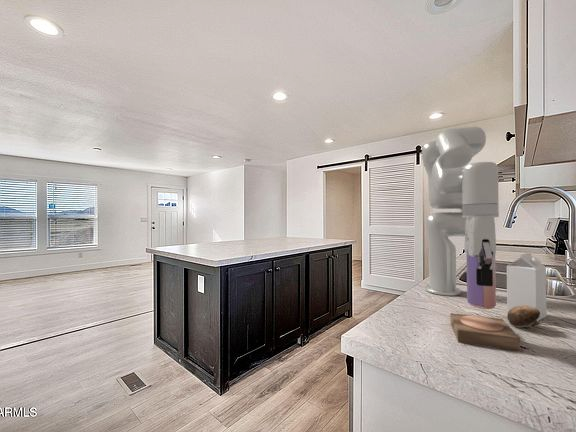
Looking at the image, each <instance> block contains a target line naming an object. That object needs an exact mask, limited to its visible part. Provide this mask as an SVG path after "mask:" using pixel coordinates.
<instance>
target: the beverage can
mask: <svg viewBox="0 0 576 432" xmlns="http://www.w3.org/2000/svg"><path fill="white" fill-rule="evenodd" d="M491 253H492V251H491ZM492 255H493V254H492ZM479 256H484V254H479ZM481 261H482V259H481ZM492 267H493V269H492V270H493V286H479V285H477V284H476V269H478V265H477V255H475V257H471V256H470V255H468V249H467V253H466V301H467V303H468V304H469V306H471V307H474V308H477V309H482V310H485V309H486V310H491V309H495V307H496V305H497V297H496V296H497V295H496V294H497V291H496V290H497V289H496V288H497V287H496V286H497V285H496V284H497V283H496V277H497V275H496V255H495V256H494V257H493V258H492Z"/></svg>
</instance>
